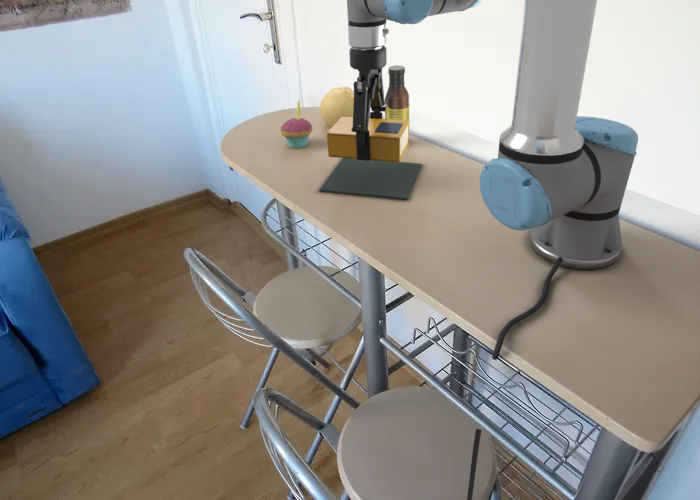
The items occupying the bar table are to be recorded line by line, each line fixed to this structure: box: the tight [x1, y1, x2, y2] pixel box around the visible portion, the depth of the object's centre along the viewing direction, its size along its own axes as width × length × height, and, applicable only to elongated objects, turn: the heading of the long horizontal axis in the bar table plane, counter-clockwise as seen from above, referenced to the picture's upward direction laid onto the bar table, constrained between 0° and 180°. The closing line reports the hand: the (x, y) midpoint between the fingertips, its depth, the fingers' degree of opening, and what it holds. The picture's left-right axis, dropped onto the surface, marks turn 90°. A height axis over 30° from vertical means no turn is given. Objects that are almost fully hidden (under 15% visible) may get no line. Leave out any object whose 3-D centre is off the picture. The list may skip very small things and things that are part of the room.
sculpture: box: [319, 86, 354, 128], centre depth 150 cm, size 12×12×11 cm
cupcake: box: [280, 99, 313, 149], centre depth 138 cm, size 9×8×12 cm
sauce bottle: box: [384, 64, 410, 143], centre depth 134 cm, size 7×6×20 cm
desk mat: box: [318, 158, 423, 201], centre depth 122 cm, size 18×20×1 cm
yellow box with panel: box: [326, 117, 411, 162], centre depth 116 cm, size 16×10×6 cm, turn 73°
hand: (370, 149), depth 117 cm, fingers closed on yellow box with panel, 10 cm apart
